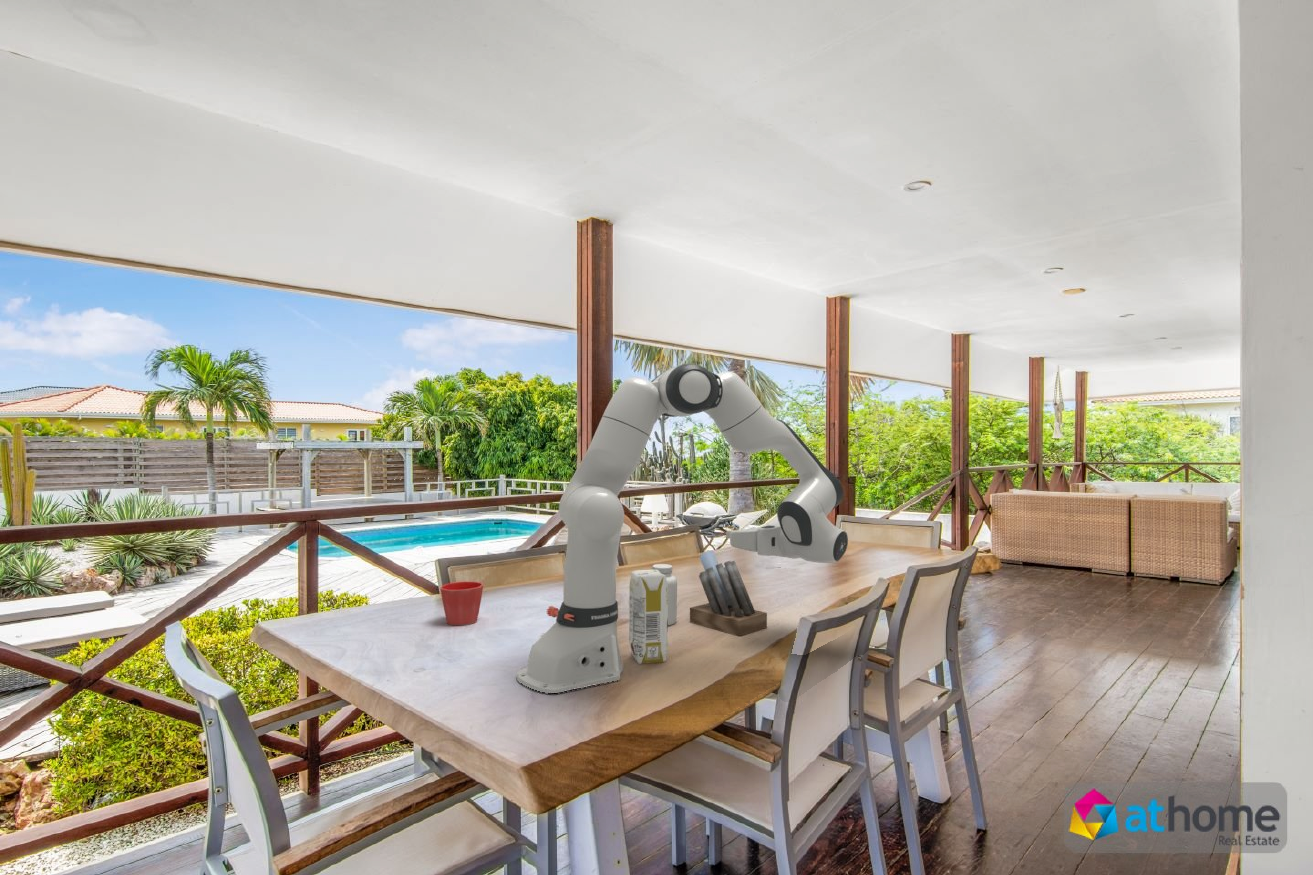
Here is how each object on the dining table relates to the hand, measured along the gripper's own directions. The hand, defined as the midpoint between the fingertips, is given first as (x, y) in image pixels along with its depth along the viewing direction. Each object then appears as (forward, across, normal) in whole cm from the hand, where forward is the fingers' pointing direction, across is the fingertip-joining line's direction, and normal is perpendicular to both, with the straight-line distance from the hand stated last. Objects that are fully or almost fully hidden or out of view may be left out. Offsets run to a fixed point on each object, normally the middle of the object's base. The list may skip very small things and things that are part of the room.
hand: (739, 532), depth 172 cm
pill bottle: (+18, +11, +25) cm, 32 cm away
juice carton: (-1, +33, +25) cm, 41 cm away
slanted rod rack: (+4, 0, +25) cm, 26 cm away
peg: (+4, 0, +20) cm, 20 cm away
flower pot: (+54, +50, +25) cm, 77 cm away
